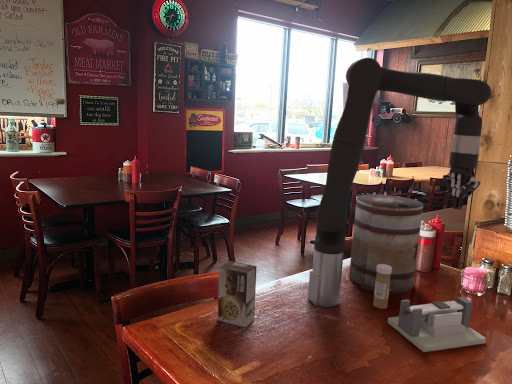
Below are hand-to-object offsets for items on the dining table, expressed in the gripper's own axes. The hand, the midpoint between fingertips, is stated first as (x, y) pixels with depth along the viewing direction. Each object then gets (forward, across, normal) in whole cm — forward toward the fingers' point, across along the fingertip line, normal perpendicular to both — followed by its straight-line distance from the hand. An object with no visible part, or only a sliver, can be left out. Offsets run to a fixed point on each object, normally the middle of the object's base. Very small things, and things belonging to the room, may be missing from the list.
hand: (456, 208), depth 129 cm
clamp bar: (+26, +11, -13) cm, 31 cm away
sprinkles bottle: (+33, -7, -18) cm, 38 cm away
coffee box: (+33, -8, -65) cm, 73 cm away
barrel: (+33, -25, -6) cm, 42 cm away
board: (+33, +11, -12) cm, 37 cm away
